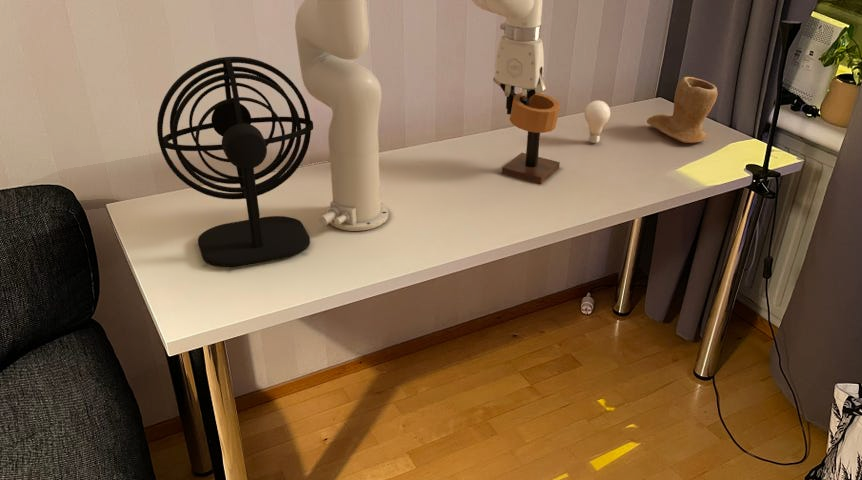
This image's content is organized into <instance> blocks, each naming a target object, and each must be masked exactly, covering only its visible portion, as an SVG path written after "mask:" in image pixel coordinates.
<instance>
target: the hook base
mask: <svg viewBox="0 0 862 480" xmlns="http://www.w3.org/2000/svg"><path fill="white" fill-rule="evenodd" d="M525 162H526V152H521V153H518V155H516V156H515V157H514V158H513V159H511V160H510V161H509V162H507V163H506V164H505V165H503V166H502V167H501V174H503V175H507V176H510V177H514V178H517V179H522V180H525V181H529V182H532V183H536V184H540V185H542V184H543V183H544V182H545V181H546V180H547V179H549V178H550V177H551V176H552V175H553V174H554V173H556V172H557V171H559V169H560V161H556V160H552V159H549V158H544V157H541V156H538V164H537V166H536V167H528V166H526V165H525Z"/></svg>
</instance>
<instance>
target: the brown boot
mask: <svg viewBox="0 0 862 480" xmlns="http://www.w3.org/2000/svg"><path fill="white" fill-rule="evenodd" d="M717 97H718V88H717V86H716V85H715V84H713V83H711V82H709V81H707V80H704V79H702V78H697V77H695V76H694V77H693V76H684V77H682V78H681V79H680V80H679V81H678V83H677V85H676V88H675V92H674V97H673V98H674V100H673V112H672V115H670V114H665V113H664V114H663V113H662V114H661V113H660V114H655V115H653V116H651V117H650V116H649V118H647V119H646V123H647V124H648V125H650V126H651V127H653V128H655V129H656V130H658V131H660V132H661V133H663V134H664V135H667V136H669V137H670V138H672V139H675V140H677V141H679V142H682V143H685V144H695V143H701V142H704V141H705V140H706V139H707V138H708V136H707V134H706V133H705V132H704V131H703V129H702V125H703V123H704V121H705V119H706V118H707V116H708V115H709V114H710V112H711V110H712V108H713V107H714V105H715V103H716V101H717Z"/></svg>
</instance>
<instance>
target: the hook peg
mask: <svg viewBox="0 0 862 480" xmlns="http://www.w3.org/2000/svg"><path fill="white" fill-rule="evenodd" d="M526 137H527V138H526V150H525V153H526V162H525V165H526V166H528V167H536V166H537V164H538V157H539V150H540V139H541V133H535V132H529V131H527V136H526Z"/></svg>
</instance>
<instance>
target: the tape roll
mask: <svg viewBox="0 0 862 480" xmlns="http://www.w3.org/2000/svg"><path fill="white" fill-rule="evenodd" d="M515 94H516V95H515V96H514V98H513V103H512V109H511V114H510V116H509V121H510V123H511V124H512V125H513V126H514V127H516V128H518V129H520V130H523V131H524V132H525V131H526V132H528V131H529V132H535V133H540V134H544V133H550V132H552V131H554V130H555V129H556V128H557V122H558V117H559V112H560V109H561V104H560V102H559V101H558V100H557V99H556V98H554V97H552V96H550V95H547V94H545V93H538V94H534V95H533V96H532V97H531V98H530V100H529V107H528V106H526V105H524V104H522V103H521V101H520V100H521V99H522V92H517V93H515Z"/></svg>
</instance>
